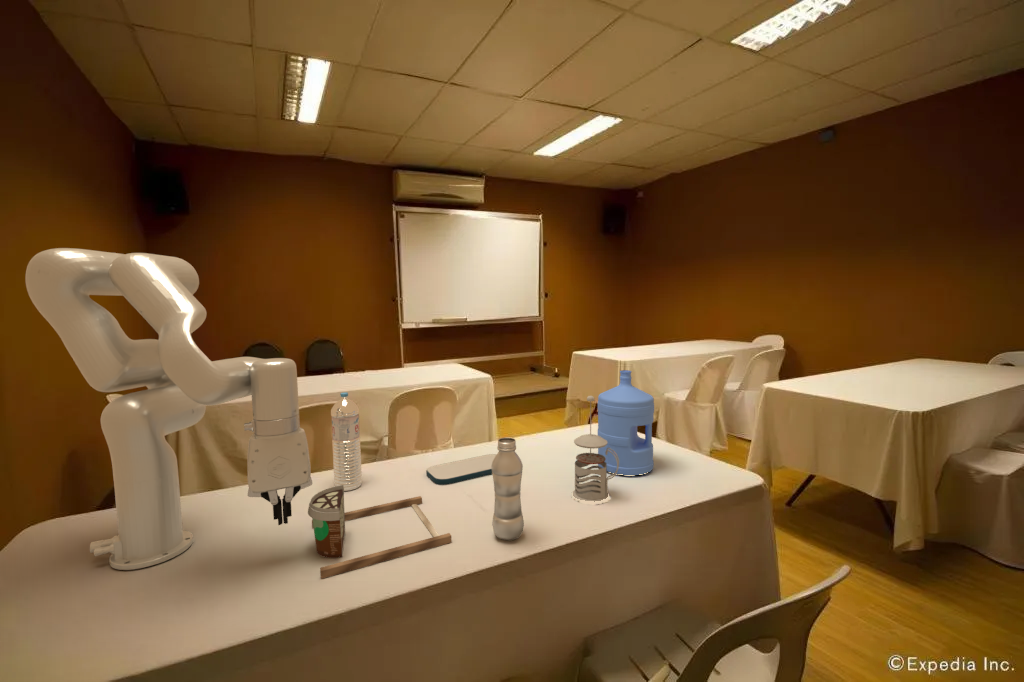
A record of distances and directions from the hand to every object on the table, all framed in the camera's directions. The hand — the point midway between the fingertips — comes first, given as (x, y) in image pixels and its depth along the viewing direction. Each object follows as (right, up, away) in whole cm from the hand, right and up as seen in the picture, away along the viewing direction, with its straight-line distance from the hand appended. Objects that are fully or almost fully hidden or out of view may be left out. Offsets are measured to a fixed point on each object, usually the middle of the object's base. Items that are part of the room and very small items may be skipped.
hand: (283, 521), depth 83 cm
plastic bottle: (+42, -6, +7) cm, 43 cm away
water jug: (+76, -3, +44) cm, 88 cm away
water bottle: (0, -5, +33) cm, 34 cm away
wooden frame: (+15, -6, +9) cm, 19 cm away
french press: (+63, -5, +25) cm, 68 cm away
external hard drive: (+31, -4, +43) cm, 53 cm away
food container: (+7, -7, +4) cm, 10 cm away
